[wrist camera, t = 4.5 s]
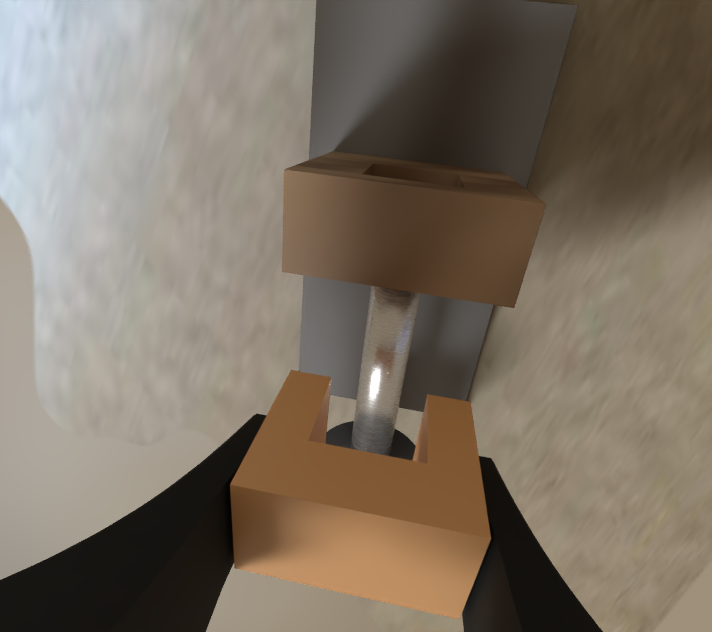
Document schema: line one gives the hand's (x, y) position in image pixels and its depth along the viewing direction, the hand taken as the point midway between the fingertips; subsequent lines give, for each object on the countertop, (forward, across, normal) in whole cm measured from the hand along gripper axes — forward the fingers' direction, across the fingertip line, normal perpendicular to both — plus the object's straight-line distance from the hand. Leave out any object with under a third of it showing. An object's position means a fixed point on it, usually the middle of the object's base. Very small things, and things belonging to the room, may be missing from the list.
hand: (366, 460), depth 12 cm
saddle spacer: (+2, 0, 0) cm, 2 cm away
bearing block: (+10, 0, -4) cm, 11 cm away
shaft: (+8, 0, +1) cm, 8 cm away
